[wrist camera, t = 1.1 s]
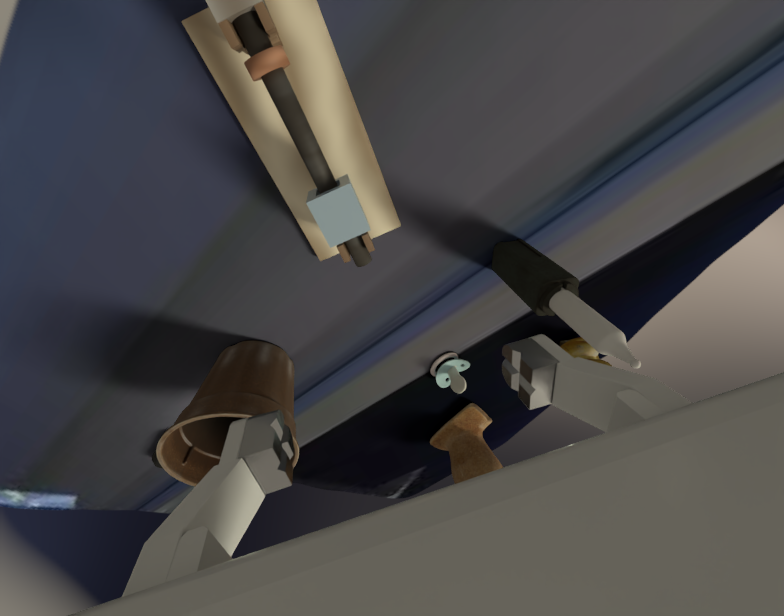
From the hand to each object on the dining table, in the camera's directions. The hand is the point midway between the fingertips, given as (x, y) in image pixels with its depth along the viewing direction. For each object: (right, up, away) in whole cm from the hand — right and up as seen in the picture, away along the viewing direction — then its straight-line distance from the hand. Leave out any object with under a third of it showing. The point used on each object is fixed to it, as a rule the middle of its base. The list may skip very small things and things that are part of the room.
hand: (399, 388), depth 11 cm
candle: (+18, +11, +38) cm, 43 cm away
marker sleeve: (-6, +14, +24) cm, 28 cm away
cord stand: (-9, +22, +25) cm, 35 cm away
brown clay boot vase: (+16, -24, +61) cm, 67 cm away
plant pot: (-23, -7, +41) cm, 48 cm away
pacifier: (+10, -8, +49) cm, 51 cm away
